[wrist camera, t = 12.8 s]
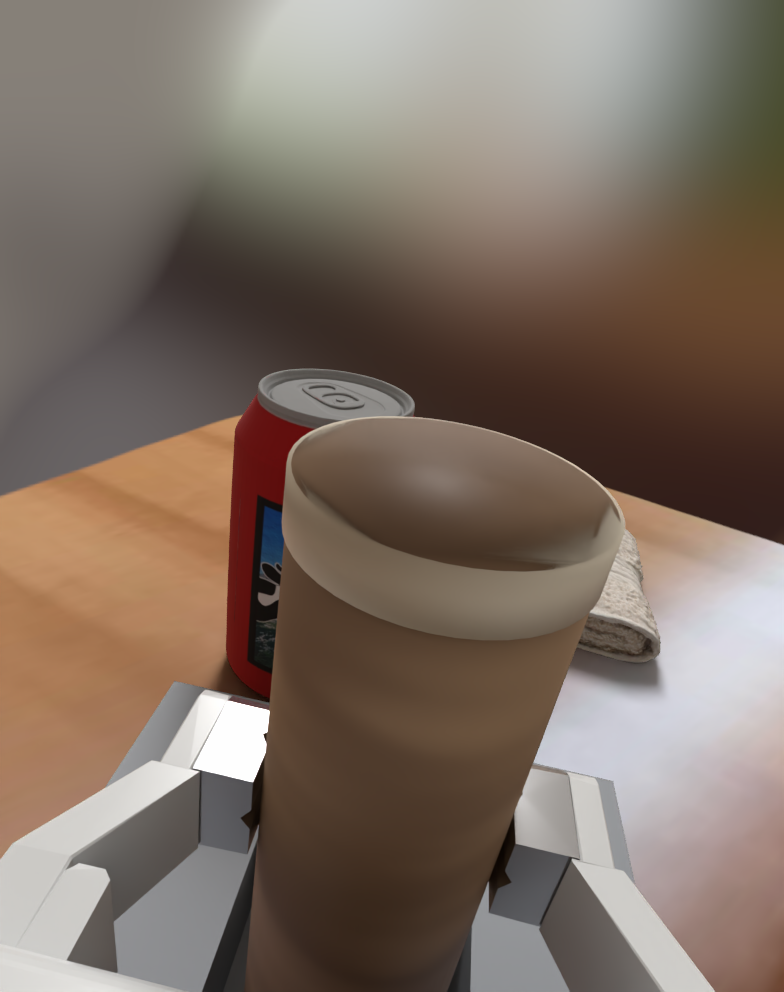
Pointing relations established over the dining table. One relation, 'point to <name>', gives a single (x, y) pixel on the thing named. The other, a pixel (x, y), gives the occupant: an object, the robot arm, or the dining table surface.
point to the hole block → (229, 889)
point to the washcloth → (622, 613)
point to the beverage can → (280, 496)
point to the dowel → (410, 689)
